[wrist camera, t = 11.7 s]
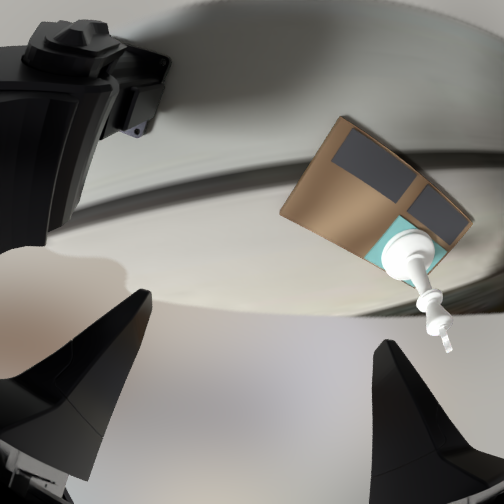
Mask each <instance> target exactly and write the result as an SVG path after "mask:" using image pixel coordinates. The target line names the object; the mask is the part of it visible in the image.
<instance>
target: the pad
mask: <svg viewBox="0 0 504 504" xmlns="http://www.w3.org/2000/svg"><path fill="white" fill-rule="evenodd" d="M408 229H418V228H417V227H415V226H414V225H413V224H411V223H410V222H408V221H407V220H406V219H404V218H403V217H402V216H400V215H399V216H398V217H397V218H396V220H395V221H394V222H393V223H392V225H391V226H390V227H389V228H388V229H387V231H386V232H385V233H384V234H383V236H382V237H381V238H380V239H379V240H378V242H377V243H376V244H375V245H374V246H373V247H372V249H371V250H370V251H369V252H368V253H367V254H366V256H365V257H364V259H366V260H368V261H370V262H371V263H373V264H375V265H377V266H379V267H380V268H382V269H384V267H383V265H382V260H381V257H382V252H383V249H384V247H385V245H386V244H387V243H388V241H389V240H390V239H391V238H392V237H393V236H395V235H396V234H398V233H400V232H402V231H404V230H408ZM432 242H433V244H434V248H435V255H434V259H433V261H432V263H431V265H430V266H429V268H428V269H427V270H426V272H427V274H428V272H429V271H430V270H431V269H432V268H433V267H434V266H435V265H436V264H437V263H438V262H439V261H440V260H441V259H442V257H443V256H444V255H445V254H446V253H447V251H446V250H445V249H444V248H442V247H441V246H440V245H439V244H437V243H436V242H435V241H434V240H432ZM384 270H385V269H384ZM403 281H404V282H406V283H408V284H410V285H411V286H413V287H415V285H414V284H413V282H412V281H411V279H410V280H403Z"/></svg>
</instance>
